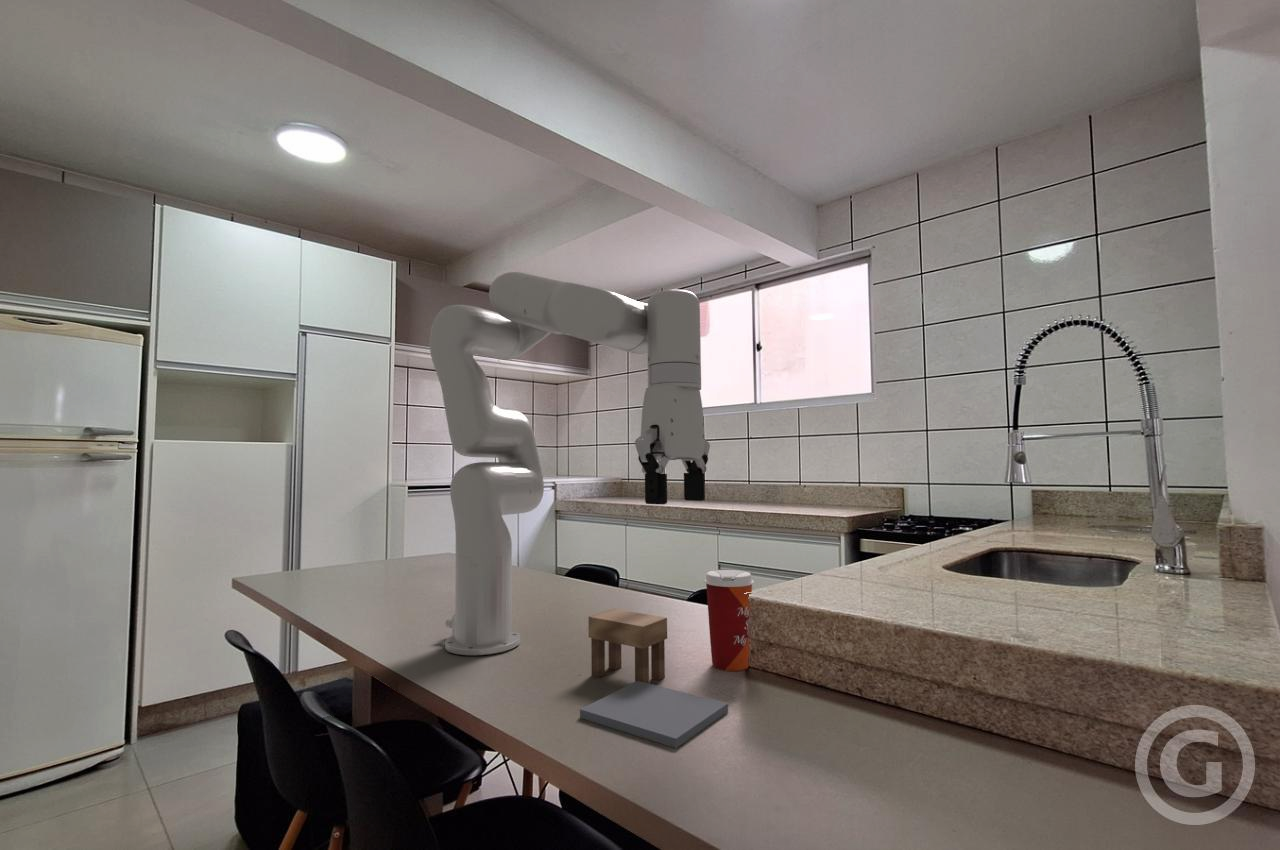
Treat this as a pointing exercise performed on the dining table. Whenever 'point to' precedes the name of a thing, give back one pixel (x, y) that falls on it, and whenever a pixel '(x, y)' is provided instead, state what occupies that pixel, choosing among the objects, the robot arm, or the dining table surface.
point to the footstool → (628, 642)
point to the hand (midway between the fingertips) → (676, 502)
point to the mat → (655, 712)
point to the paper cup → (729, 618)
